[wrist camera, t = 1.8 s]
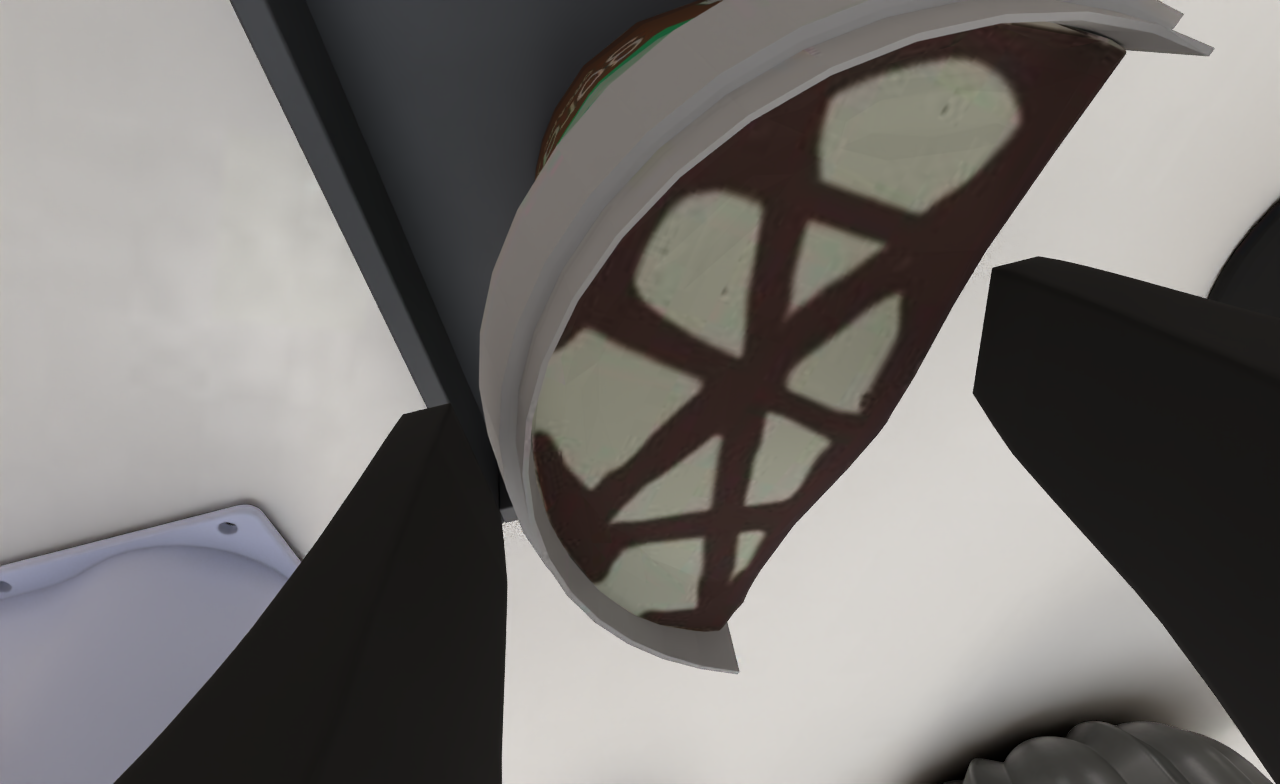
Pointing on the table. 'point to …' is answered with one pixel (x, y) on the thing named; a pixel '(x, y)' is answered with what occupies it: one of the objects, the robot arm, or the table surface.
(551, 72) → the dark gray tray
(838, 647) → the table surface
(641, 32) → the food container
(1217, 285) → the wine glass
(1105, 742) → the bundt pan
